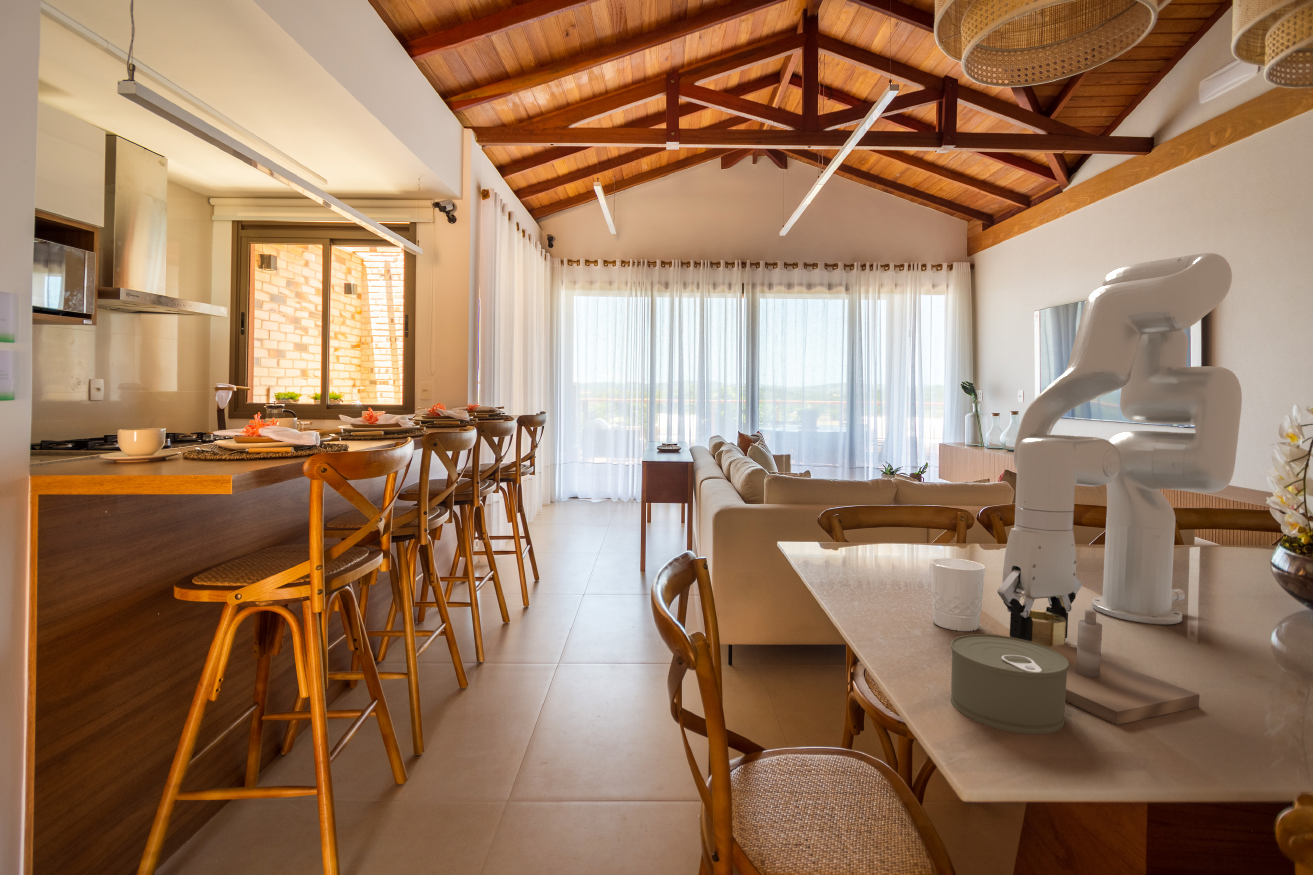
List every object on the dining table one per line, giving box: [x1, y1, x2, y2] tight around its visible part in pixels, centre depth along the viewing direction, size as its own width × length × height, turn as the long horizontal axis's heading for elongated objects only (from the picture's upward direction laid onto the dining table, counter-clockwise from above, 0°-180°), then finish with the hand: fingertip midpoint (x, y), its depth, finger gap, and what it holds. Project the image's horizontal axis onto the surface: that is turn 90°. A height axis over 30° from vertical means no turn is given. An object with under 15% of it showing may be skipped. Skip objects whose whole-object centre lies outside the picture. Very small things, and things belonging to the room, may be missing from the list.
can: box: [950, 633, 1069, 735], centre depth 75 cm, size 12×12×7 cm
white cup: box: [930, 557, 986, 632], centre depth 104 cm, size 8×8×10 cm
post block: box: [1048, 609, 1201, 726], centre depth 82 cm, size 14×17×10 cm
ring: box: [1029, 608, 1066, 647], centre depth 97 cm, size 7×7×4 cm
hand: (1038, 637), depth 97 cm, fingers closed on ring, 6 cm apart
